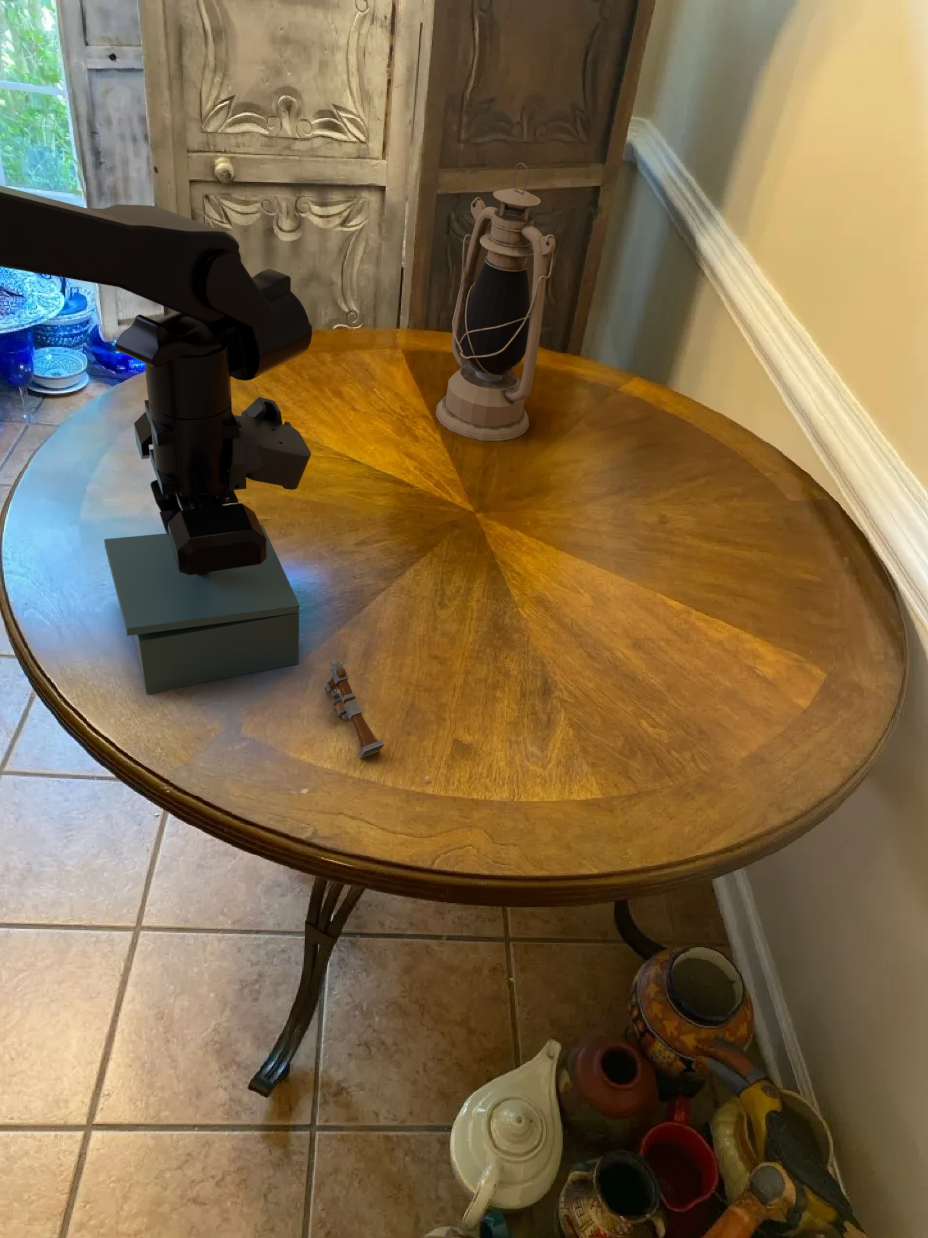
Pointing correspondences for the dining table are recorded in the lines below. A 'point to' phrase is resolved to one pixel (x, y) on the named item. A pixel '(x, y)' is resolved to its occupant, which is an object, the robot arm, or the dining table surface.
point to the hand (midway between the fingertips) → (202, 571)
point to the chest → (216, 651)
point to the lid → (191, 588)
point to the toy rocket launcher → (351, 709)
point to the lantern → (497, 321)
